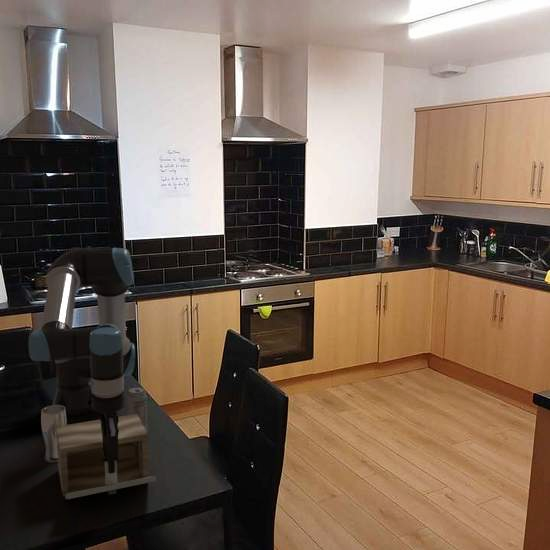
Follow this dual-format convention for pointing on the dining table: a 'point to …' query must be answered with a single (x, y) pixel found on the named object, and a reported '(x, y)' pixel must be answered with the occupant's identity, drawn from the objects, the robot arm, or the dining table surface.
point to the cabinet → (100, 453)
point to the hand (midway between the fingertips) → (111, 482)
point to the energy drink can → (137, 404)
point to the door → (110, 487)
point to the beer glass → (52, 429)
